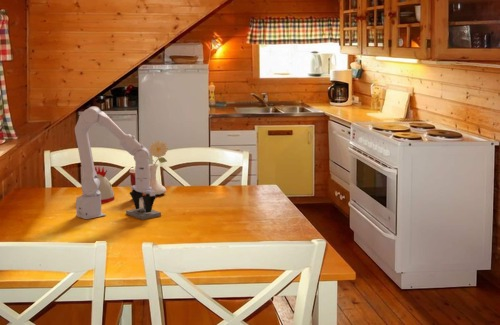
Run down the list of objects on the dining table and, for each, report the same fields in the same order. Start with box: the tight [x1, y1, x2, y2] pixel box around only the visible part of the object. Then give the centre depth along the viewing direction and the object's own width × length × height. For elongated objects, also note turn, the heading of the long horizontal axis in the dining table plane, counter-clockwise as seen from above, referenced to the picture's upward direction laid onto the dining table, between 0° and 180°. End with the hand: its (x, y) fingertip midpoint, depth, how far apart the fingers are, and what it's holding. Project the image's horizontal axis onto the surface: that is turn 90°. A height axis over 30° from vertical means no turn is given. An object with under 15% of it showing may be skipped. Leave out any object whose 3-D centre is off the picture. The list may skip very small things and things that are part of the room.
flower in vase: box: [145, 140, 168, 196], centre depth 318 cm, size 13×11×25 cm
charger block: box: [125, 208, 162, 221], centre depth 283 cm, size 9×12×2 cm
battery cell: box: [139, 197, 147, 213], centre depth 282 cm, size 3×3×8 cm
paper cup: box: [128, 166, 146, 196], centre depth 309 cm, size 8×8×14 cm
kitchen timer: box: [94, 166, 115, 204], centre depth 308 cm, size 14×14×15 cm
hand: (143, 210), depth 282 cm, fingers open, 7 cm apart
